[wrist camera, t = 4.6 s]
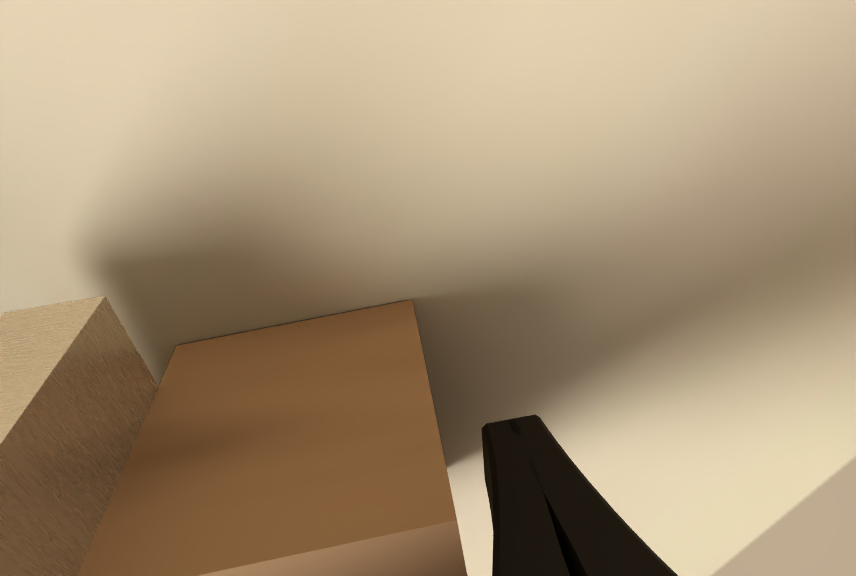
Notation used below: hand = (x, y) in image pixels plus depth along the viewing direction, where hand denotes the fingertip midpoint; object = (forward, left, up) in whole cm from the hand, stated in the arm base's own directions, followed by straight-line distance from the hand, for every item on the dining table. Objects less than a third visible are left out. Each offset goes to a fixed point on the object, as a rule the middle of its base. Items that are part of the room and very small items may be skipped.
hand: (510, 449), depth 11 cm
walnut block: (0, +4, -2) cm, 4 cm away
